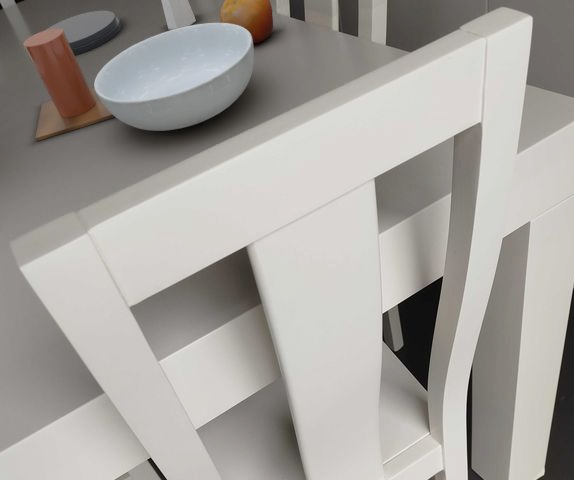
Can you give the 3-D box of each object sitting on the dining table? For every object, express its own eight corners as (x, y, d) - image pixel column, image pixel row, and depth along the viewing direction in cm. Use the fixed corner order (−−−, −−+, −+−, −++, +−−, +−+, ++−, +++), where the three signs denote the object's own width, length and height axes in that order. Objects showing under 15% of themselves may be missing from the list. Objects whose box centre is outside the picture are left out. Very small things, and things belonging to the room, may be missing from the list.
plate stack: (35, 67, 104) (29, 56, 103) (42, 37, 115) (37, 26, 114) (121, 40, 104) (117, 28, 103) (120, 13, 115) (116, 2, 114)
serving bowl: (91, 124, 83) (68, 75, 78) (213, 61, 89) (198, 12, 84) (159, 171, 70) (137, 116, 65) (296, 94, 76) (285, 38, 71)
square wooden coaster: (36, 141, 83) (35, 138, 83) (43, 106, 91) (41, 103, 91) (118, 116, 83) (116, 112, 83) (117, 83, 91) (116, 80, 91)
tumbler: (58, 121, 85) (21, 50, 78) (60, 105, 89) (25, 36, 81) (95, 110, 85) (61, 37, 77) (96, 94, 89) (64, 24, 81)
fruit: (294, 15, 91) (265, -25, 84) (270, 61, 91) (240, 26, 84) (258, 11, 95) (228, -27, 89) (235, 55, 96) (204, 21, 89)
